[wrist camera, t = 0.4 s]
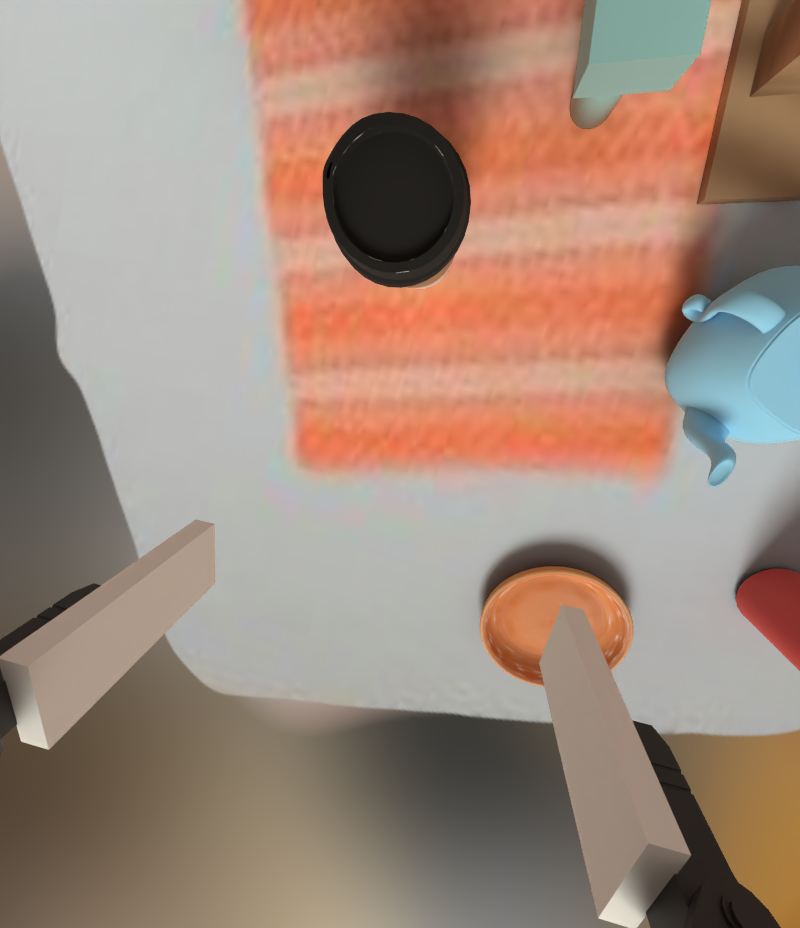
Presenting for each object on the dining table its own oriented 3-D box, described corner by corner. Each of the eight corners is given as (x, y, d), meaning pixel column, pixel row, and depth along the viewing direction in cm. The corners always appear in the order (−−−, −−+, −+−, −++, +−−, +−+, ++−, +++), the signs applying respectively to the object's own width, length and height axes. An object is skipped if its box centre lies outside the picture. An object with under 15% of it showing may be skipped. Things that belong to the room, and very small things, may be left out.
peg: (558, 60, 29) (607, -79, 19) (638, 52, 28) (730, -97, 18) (549, 149, 30) (588, 64, 21) (623, 145, 30) (700, 53, 20)
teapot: (806, 437, 34) (963, 482, 23) (640, 446, 36) (713, 490, 26) (850, 247, 29) (1068, 196, 19) (656, 272, 32) (752, 239, 21)
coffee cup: (394, 183, 33) (342, 69, 19) (484, 220, 33) (500, 132, 19) (363, 283, 36) (298, 249, 22) (445, 317, 36) (433, 305, 21)
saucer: (518, 684, 48) (521, 705, 45) (454, 588, 45) (453, 605, 42) (646, 642, 43) (659, 663, 41) (584, 532, 40) (593, 547, 38)
